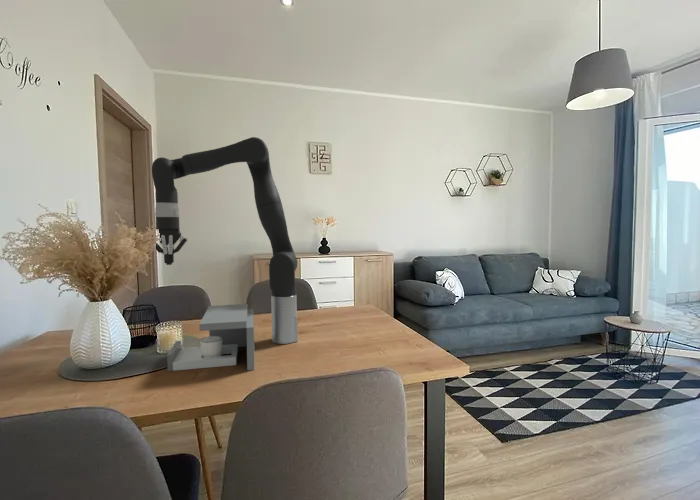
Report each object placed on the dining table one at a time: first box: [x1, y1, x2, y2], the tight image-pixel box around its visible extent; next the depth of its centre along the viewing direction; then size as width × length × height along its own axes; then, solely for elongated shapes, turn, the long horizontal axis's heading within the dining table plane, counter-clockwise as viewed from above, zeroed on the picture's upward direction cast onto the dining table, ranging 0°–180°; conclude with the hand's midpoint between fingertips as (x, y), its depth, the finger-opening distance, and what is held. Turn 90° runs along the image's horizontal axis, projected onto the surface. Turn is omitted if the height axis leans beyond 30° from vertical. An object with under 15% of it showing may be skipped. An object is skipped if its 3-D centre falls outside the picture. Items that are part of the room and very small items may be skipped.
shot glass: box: [199, 336, 223, 358], centre depth 119 cm, size 7×7×7 cm
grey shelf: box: [199, 303, 255, 371], centre depth 121 cm, size 15×24×15 cm, turn 14°
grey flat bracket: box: [166, 340, 239, 372], centre depth 119 cm, size 20×13×5 cm, turn 104°
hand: (169, 264), depth 133 cm, fingers closed
